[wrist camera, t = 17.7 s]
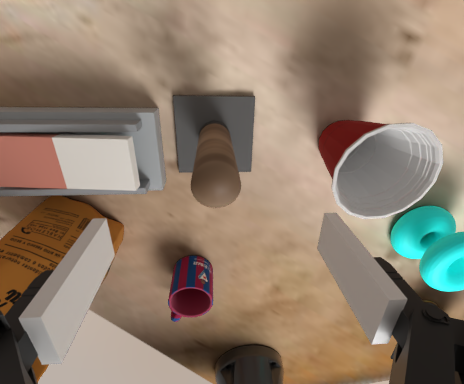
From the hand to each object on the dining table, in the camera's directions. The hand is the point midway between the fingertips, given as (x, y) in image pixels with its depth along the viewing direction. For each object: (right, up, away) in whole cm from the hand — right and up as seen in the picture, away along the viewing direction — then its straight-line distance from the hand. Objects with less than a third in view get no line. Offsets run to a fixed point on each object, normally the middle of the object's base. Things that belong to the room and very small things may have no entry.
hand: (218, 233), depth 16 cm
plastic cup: (+15, +10, +21) cm, 27 cm away
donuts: (+32, -3, +29) cm, 43 cm away
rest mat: (-1, +10, +19) cm, 21 cm away
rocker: (-18, +6, +14) cm, 24 cm away
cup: (-7, -12, +30) cm, 33 cm away
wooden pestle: (-1, +10, +18) cm, 21 cm away
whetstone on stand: (-18, +8, +18) cm, 27 cm away
